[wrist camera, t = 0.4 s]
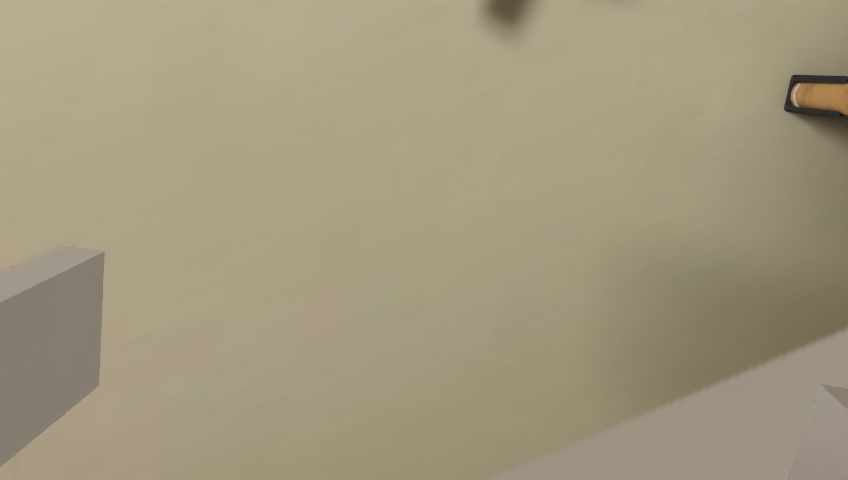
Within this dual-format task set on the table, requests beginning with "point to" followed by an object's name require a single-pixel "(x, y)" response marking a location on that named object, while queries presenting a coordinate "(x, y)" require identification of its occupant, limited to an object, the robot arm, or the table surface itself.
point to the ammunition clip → (818, 95)
